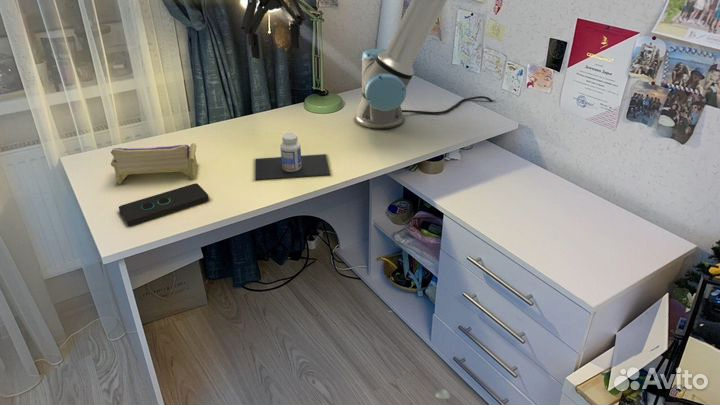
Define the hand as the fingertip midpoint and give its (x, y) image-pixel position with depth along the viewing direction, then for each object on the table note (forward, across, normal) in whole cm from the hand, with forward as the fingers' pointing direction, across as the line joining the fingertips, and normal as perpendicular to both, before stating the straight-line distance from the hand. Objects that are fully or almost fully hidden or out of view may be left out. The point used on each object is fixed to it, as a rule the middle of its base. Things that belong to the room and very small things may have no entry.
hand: (276, 52), depth 159 cm
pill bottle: (+26, +10, +17) cm, 33 cm away
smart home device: (+27, +45, +11) cm, 53 cm away
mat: (+27, +9, +17) cm, 33 cm away
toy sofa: (+27, +38, -5) cm, 47 cm away
